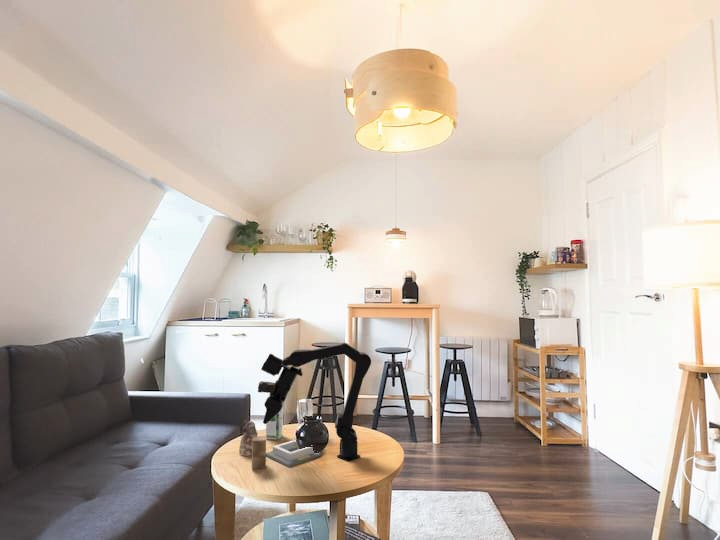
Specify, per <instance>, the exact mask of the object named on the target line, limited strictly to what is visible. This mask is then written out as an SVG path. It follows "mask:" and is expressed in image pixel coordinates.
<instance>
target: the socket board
mask: <svg viewBox="0 0 720 540" xmlns="http://www.w3.org/2000/svg"><path fill="white" fill-rule="evenodd" d="M296 440H297V439H294V440H290V441H287V442H283V443H280V444H277V445H274V446H272V451H269V452H266V458H268V459H270V460H273V461H274V462H276V463H278V464H281V465H283V466H285V467H287V468H290V467H293V466H296V465H300V464H301V463H305V462H308V461H311V460H314V459H315V458H319V457H321V456H322V453H321V452H319V453H314V451H315V450H314V451H313V447H305V448H302V449H299V447H298V445H297V442H296Z"/></svg>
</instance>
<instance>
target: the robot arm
mask: <svg viewBox="0 0 720 540" xmlns="http://www.w3.org/2000/svg"><path fill="white" fill-rule="evenodd" d="M341 355H345V356H346V357H347V358H349V359H351V360H352V361H353V363H354V365H353V376H352V379H351V383H350V386H349V391H348V394H347V396H346V397H347V398H346V400H345V404H344V408H343V410H342V411H341V413H339V412H338V413H337V414H336V415H337V417H336V420H335V421H334V428H335V431H336V435H337V437H338V438H340V440H339V454H338V455H336V457H337V458H339V459H341V460H344V461H347V462H350V461H353V460H356V459H359V458H361V454H358V435H357V432H356V430H355V429H354V428H353V424H354V423H353V421H354V412H355V410H356V405H357V402H358V398H359V395H360V392H361V387H362V386H363V385H362V384H363V380H364V379H365V377H366V376H367V375H366V374H367V373H368V371H369V369H370V367H371V364H372V359H371V357H370V356H369V354H367V353H366V352H364V351H363V352H360V351H358V350H357V349H356V348H354V347H353V346H351V345H350V344H349V343H347V342H342V343H339V344H335V345H329V346H325V347H319V348H315V349H294V350H293V351H291V353H290V355H288V356H287V357H284V358H283V359H282V358H280V357H278V356H275V355H274V354H273V353H269V354H268V356H267V358H266V360H265V361H264V363H263V365H262V366H261V369H260V370H261V371H263V372H265V373H267V374H269V375H271V376H273V377H275V376H276V375H277V376H278V375H279V374H280V375H279V376H278V379H276V381H275V382H271V381H270V382H269V381H259V382H258V385H257V393H267V394H269V396H268V397H267V398H266V399H265V402H264V407H265V409H266V411H265V414H264V418H263V421H262V423H263V424H264V425H266V423H267V422H269V421H270V420H271V419H272V418H273V417H274V416H275V415H276V414H278V413H279V412H280V411H281V409H282V407H283V408H284V402H285V401H286V400H287V399H286V398H287V396H288V394H289V392H290V391H291V389H292V387H293V384H294V383H295V380H296V379H297V376H300V377H303V375H304V374H303V371H302V367H301V366H304V365H307V364H309V363H310V362H313V361H317V360H321V359H327V358H330V357H331V358H332V357H335V356H336V357H337V356H341ZM299 367H300V368H299Z"/></svg>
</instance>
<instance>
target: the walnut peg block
mask: <svg viewBox="0 0 720 540" xmlns="http://www.w3.org/2000/svg"><path fill="white" fill-rule="evenodd" d="M266 453H267V439H266V435H261V436H259V435H257V437H252V456H251V471H252V470H254V471H262V470H266V462H267V459H266V458H267V457H266Z"/></svg>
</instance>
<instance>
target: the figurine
mask: <svg viewBox="0 0 720 540" xmlns="http://www.w3.org/2000/svg"><path fill="white" fill-rule="evenodd" d="M243 423H244V426H243V428H242V436H241V439H240V444H239V449H238V451H239V455H240V454H241V455H240V456H242V455H243V457H249V455H252V437H258V432H257V427H256V423H255V422H254V421H252V420H249V421H247V420H244V421H243Z"/></svg>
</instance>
